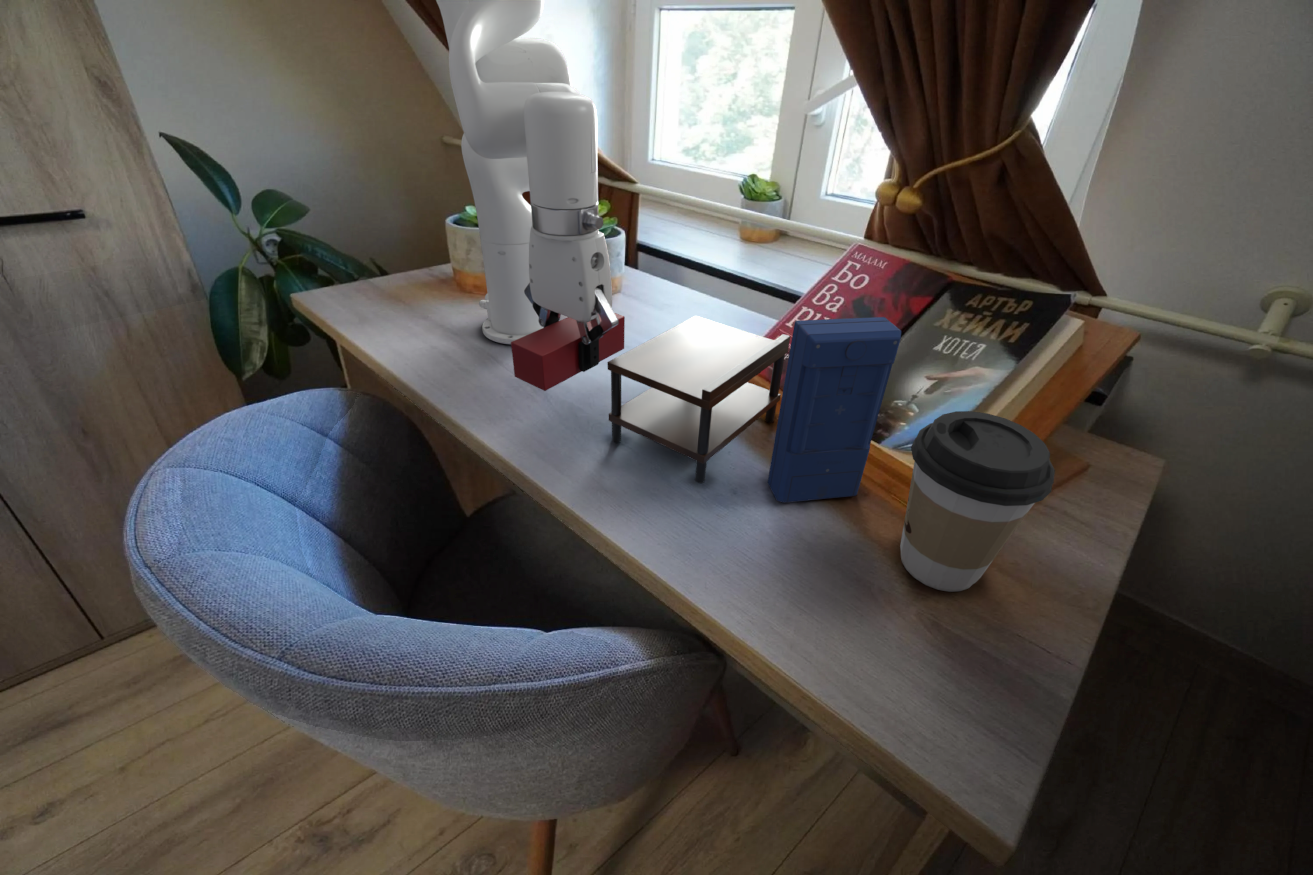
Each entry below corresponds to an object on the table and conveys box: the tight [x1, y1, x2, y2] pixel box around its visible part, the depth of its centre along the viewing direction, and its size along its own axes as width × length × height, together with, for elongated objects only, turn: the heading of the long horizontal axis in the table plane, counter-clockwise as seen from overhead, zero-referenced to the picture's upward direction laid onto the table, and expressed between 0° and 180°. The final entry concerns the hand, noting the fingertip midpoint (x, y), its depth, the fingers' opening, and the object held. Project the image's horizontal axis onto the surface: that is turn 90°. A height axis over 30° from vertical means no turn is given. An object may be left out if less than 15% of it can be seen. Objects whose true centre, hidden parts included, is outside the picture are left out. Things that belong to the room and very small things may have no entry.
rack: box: [607, 315, 791, 484], centre depth 75 cm, size 14×18×12 cm
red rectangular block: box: [510, 312, 626, 392], centre depth 78 cm, size 5×15×5 cm, turn 143°
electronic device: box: [767, 316, 902, 503], centre depth 63 cm, size 10×5×20 cm, turn 100°
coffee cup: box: [899, 410, 1056, 593], centre depth 55 cm, size 11×11×15 cm
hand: (571, 358), depth 79 cm, fingers closed on red rectangular block, 5 cm apart
